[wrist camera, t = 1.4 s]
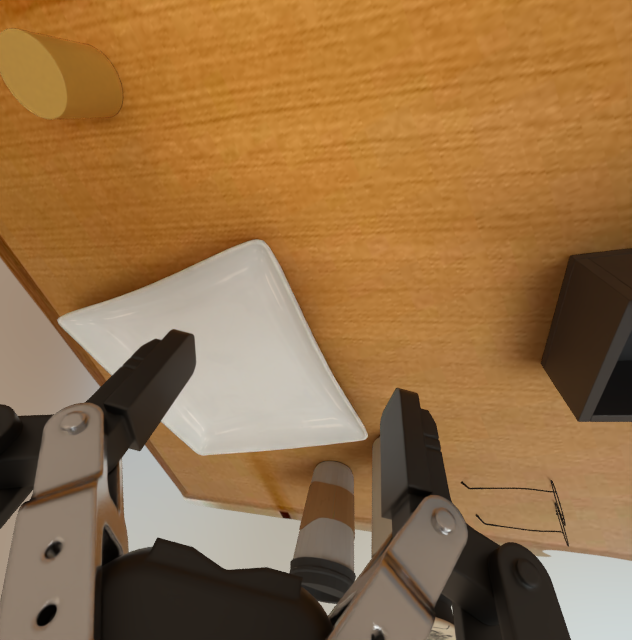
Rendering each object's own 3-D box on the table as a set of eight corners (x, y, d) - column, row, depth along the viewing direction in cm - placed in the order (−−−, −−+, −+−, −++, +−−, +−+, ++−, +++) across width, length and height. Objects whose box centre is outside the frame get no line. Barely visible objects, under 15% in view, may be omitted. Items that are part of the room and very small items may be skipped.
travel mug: (428, 465, 43) (456, 649, 28) (372, 460, 44) (371, 631, 30) (435, 432, 38) (472, 630, 24) (372, 427, 40) (370, 611, 25)
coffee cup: (342, 489, 51) (332, 608, 39) (300, 470, 49) (275, 587, 37) (370, 471, 46) (368, 599, 34) (323, 449, 45) (304, 576, 33)
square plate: (77, 303, 35) (48, 322, 32) (275, 221, 25) (261, 236, 22) (207, 437, 48) (196, 460, 45) (371, 417, 38) (370, 444, 35)
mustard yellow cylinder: (75, 26, 20) (0, 5, 16) (131, 81, 21) (75, 75, 17) (59, 83, 22) (-11, 78, 18) (111, 130, 23) (57, 135, 19)
